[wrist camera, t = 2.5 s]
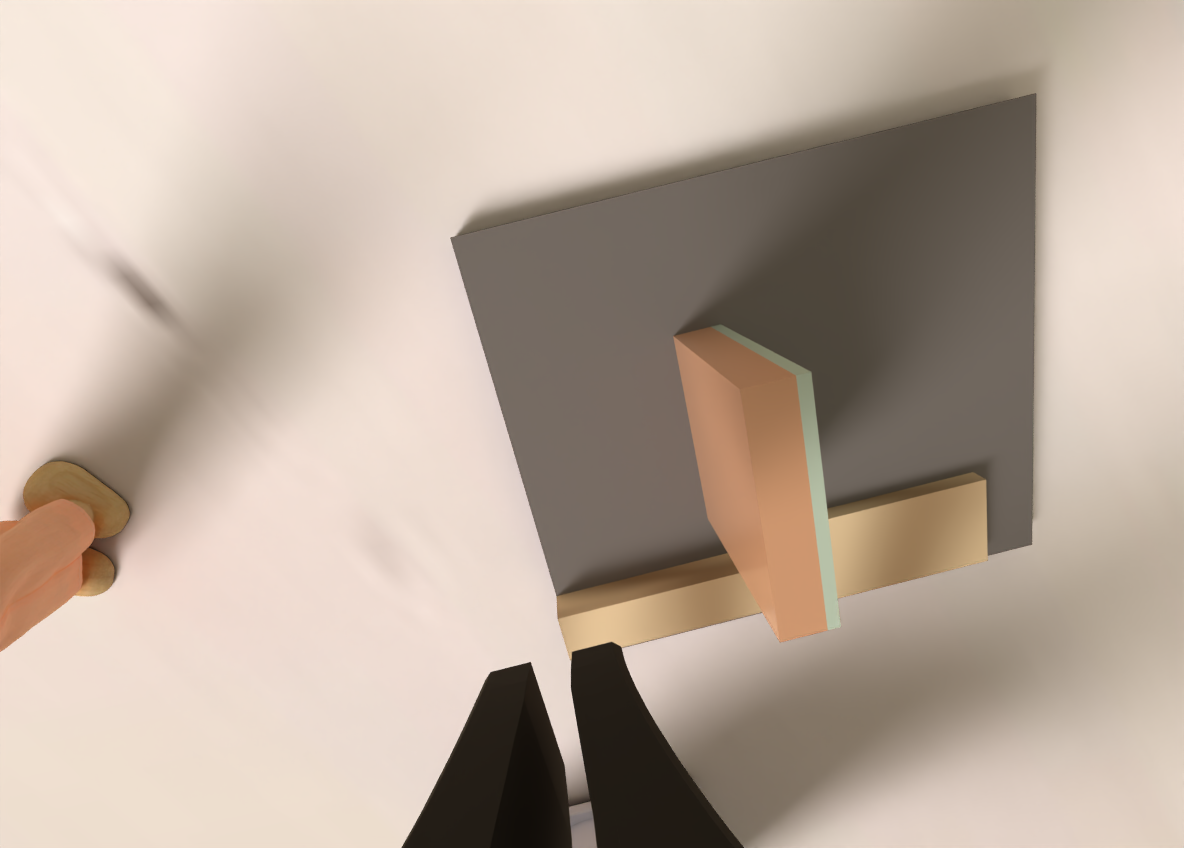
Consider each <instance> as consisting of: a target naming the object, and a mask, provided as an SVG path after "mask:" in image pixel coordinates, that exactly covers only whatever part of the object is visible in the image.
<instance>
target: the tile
mask: <svg viewBox="0 0 1184 848" xmlns="http://www.w3.org/2000/svg"><path fill="white" fill-rule="evenodd" d="M673 338H674V343H675V348H676V354H677V359H678V364H679V369H680V375H681V380H682V385H683V390H684V396H685V401H686V406H687V412H688V417H689V422H690V427H691V433H692V438H693V443H694V448H695V454H696V459H697V464H698V469H699V475H700V480H701V485H702V490H703V496H704V501H705V506H706V512H707V517H708V520H709V522H710V523H711V525H712V527H713V528H714V530H715V532H716V534H717V535H718V537H719V539H720V540H721V542H722V544H723V546H724V547H725V549H726V551H727V552H728V554H729V556H730V558H731V559H732V561H733V563H734V564H735V566H736V568H737V570H738V571H739V573H740V575H741V576H742V578H743V580H744V582H745V583H746V585H747V587H748V588H749V590H750V592H751V594H752V595H753V597H754V599H755V600H756V602H757V604H758V606H759V607H760V609H761V611H762V612H763V614H764V616H765V618H766V619H767V621H768V623H769V624H770V626H771V628H772V630H773V631H774V633H775V635H776V636H777V638H778V640H779V642H784V641H788V640H792V639H796V638H800V637H804V636H808V635H812V634H816V633H819V632H823V631H827V630H831V629H835V628H839V627H841V624H840V615H839V607H838V598H837V590H836V581H835V572H834V564H833V555H832V546H831V538H830V529H829V521H828V512H827V503H826V495H825V486H824V477H823V469H822V460H821V452H820V443H819V434H818V426H817V417H816V408H815V400H814V391H813V383H812V374H811V371H809V370H807V369H805V368H803V367H801V366H799V365H797V364H795V363H794V362H792V361H790V360H788V359H786V358H784V357H782V356H780V355H778V354H776V353H774V352H773V351H771V350H769V349H767V348H765V347H763V346H761V345H759V344H757V343H755V342H753V341H752V340H750V339H748V338H746V337H744V336H742V335H740V334H738V333H736V332H734V331H733V330H731V329H729V328H727V327H725V326H723V325H721V324H720V325H716V326H712V327H708V328H704V329H700V330H696V331H692V332H688V333H684V334H680V335H676V336H673Z"/></svg>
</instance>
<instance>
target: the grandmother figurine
mask: <svg viewBox="0 0 1184 848" xmlns="http://www.w3.org/2000/svg"><path fill="white" fill-rule="evenodd" d="M23 497H24V502H25V505H26V507H27V509H28V510H29V511H30V513H29V514H27V515H26V516H25V517H23V518H22V519H21V520H20V521H17V520H16V521H2V522H0V652H1V651H2V650H4V649H5V648H7V647H8V646H9V645H11V644H12V643H13V642H14V641H16V640H17V639H19V638H20V637H21V636H22V635H24V634H25V633H26V632H27V631H28V630H30V629H31V628H32V627H33V626H35V625H36V624H38V623H39V622H40V621H42V620H43V619H45V618H46V617H48V616H49V615H50V614H52V613H53V612H54V611H56V610H57V609H58V608H60V607H61V606H62V605H64V604H65V603H66V602H67V601H68V600H70V599H71V598H72V597H73V596H74V595H75V596H95V595H98V594H101V593H103V592H105V591H107V590H108V589H109V588H110V586H111V585H112V583H113V579H114V566H113V564H112V562H111V561H110V560H109V559H108V557H107V556H105V555H104V554H102V553H100V552H98V551H96V550H93V549H91V548H88V547H89V546H90V545H91V543H92V542H93V539H94V538H107V537H111V536H114V535H116V534H117V533H119V532H120V531H121V530H122V529H123V528H124V526H125V525H126V523H127V521H128V519H129V515H130V512H129V508H128V506H127V504H126V502H125V501H124V500H123V499H122V498H121V497H120V496H119V495H117V494H116V493H115V492H114V491H112V490H111V489H110V488H108V487H107V486H106V485H104V484H103V483H101V482H100V481H99V480H98V479H96V478H95V477H94V476H93V475H91V474H90V473H88V472H87V471H86V470H84V469H83V468H81V467H79V466H77V465H74V464H72V463H67V462H63V461H56V462H50V463H47V464H45V465H43V466H41V467H40V468H39V469H37V470H36V471H35V472H34V473H33V474H32V476H31V477H30V478H29V480H28V481H27V482H26V485H25V487H24V492H23Z"/></svg>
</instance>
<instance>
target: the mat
mask: <svg viewBox="0 0 1184 848" xmlns="http://www.w3.org/2000/svg"><path fill="white" fill-rule="evenodd" d="M1035 174H1036V93H1035V94H1031V95H1027V96H1023V97H1019V98H1015V99H1011V100H1007V101H1003V102H999V103H995V104H991V105H987V106H983V107H979V108H974V109H970V110H966V111H962V112H958V113H954V114H950V115H946V116H942V117H938V118H934V119H930V120H926V121H922V122H918V123H914V124H910V125H906V126H901V127H897V128H893V129H889V130H885V131H881V132H877V133H873V134H869V135H865V136H861V137H857V138H853V139H849V140H845V141H841V142H837V143H833V144H828V145H824V146H820V147H816V148H812V149H808V150H804V151H800V152H796V153H792V154H788V155H784V156H780V157H776V158H772V159H768V160H764V161H760V162H755V163H751V164H747V165H743V166H739V167H735V168H731V169H727V170H723V171H719V172H715V173H711V174H707V175H703V176H699V177H695V178H691V179H687V180H682V181H678V182H674V183H670V184H666V185H662V186H658V187H654V188H650V189H646V190H642V191H638V192H634V193H630V194H626V195H622V196H618V197H614V198H609V199H605V200H601V201H597V202H593V203H589V204H585V205H581V206H577V207H573V208H569V209H565V210H561V211H557V212H553V213H549V214H545V215H540V216H536V217H532V218H528V219H524V220H520V221H516V222H512V223H508V224H504V225H500V226H496V227H492V228H488V229H484V230H480V231H476V232H472V233H467V234H463V235H459V236H455V237H451V238H450V239H451V242H452V245H453V249H454V252H455V255H456V259H457V262H458V266H459V269H460V272H461V276H462V279H463V282H464V286H465V289H466V292H467V296H468V299H469V303H470V306H471V309H472V313H473V316H474V319H475V323H476V326H477V330H478V333H479V336H480V340H481V343H482V346H483V350H484V353H485V356H486V360H487V363H488V367H489V370H490V373H491V377H492V380H493V383H494V387H495V390H496V394H497V397H498V400H499V404H500V407H501V410H502V414H503V417H504V420H505V424H506V427H507V431H508V434H509V437H510V441H511V444H512V447H513V451H514V454H515V457H516V461H517V464H518V468H519V471H520V474H521V478H522V481H523V484H524V488H525V491H526V495H527V498H528V501H529V505H530V508H531V511H532V515H533V518H534V521H535V525H536V528H537V532H538V535H539V538H540V542H541V545H542V548H543V552H544V555H545V559H546V562H547V565H548V569H549V572H550V575H551V579H552V582H553V585H554V589H555V592H556V596H559V595H563V594H567V593H571V592H575V591H579V590H583V589H587V588H591V587H595V586H599V585H603V584H607V583H611V582H615V581H619V580H623V579H627V578H631V577H635V576H639V575H643V574H647V573H651V572H655V571H659V570H662V569H666V568H670V567H674V566H678V565H682V564H686V563H690V562H694V561H698V560H702V559H706V558H710V557H714V556H718V555H722V554H726V553H728V552H727V551H726V549H725V547H724V546H723V544H722V542H721V540H720V539H719V537H718V535H717V534H716V532H715V530H714V528H713V527H712V525H711V523H710V522H709V520H708V517H707V512H706V506H705V501H704V496H703V490H702V485H701V480H700V475H699V469H698V464H697V459H696V454H695V448H694V443H693V438H692V433H691V427H690V422H689V417H688V412H687V406H686V401H685V396H684V390H683V385H682V380H681V375H680V369H679V364H678V359H677V354H676V348H675V343H674V338H673V336H676V335H680V334H684V333H688V332H692V331H696V330H700V329H704V328H708V327H712V326H716V325H720V324H721V325H723V326H725V327H727V328H729V329H731V330H733V331H734V332H736V333H738V334H740V335H742V336H744V337H746V338H748V339H750V340H752V341H753V342H755V343H757V344H759V345H761V346H763V347H765V348H767V349H769V350H771V351H773V352H774V353H776V354H778V355H780V356H782V357H784V358H786V359H788V360H790V361H792V362H794V363H795V364H797V365H799V366H801V367H803V368H805V369H807V370H809V371H811V374H812V383H813V391H814V400H815V408H816V417H817V426H818V434H819V443H820V452H821V460H822V469H823V477H824V486H825V495H826V503H827V509H828V508H832V507H836V506H840V505H844V504H848V503H852V502H856V501H860V500H864V499H868V498H872V497H876V496H880V495H884V494H888V493H892V492H896V491H900V490H904V489H908V488H912V487H916V486H919V485H923V484H927V483H931V482H935V481H939V480H943V479H947V478H951V477H955V476H959V475H963V474H967V473H971V472H974V473H976V474H977V475H979V476H981V477H983V478H984V479H986V498H987V552H988V556H989V555H993V554H997V553H1000V552H1004V551H1008V550H1012V549H1016V548H1020V547H1024V546H1028V545H1032V494H1033V387H1034V280H1035ZM761 613H763V612H761ZM757 614H759V613H757ZM753 615H755V614H753ZM749 616H751V615H749ZM745 617H747V616H745ZM741 618H743V617H741ZM737 619H739V618H737ZM733 620H735V619H733ZM729 621H731V620H729ZM725 622H727V621H725ZM721 623H723V622H721ZM717 624H719V623H717ZM713 625H715V624H713ZM709 626H711V625H709ZM705 627H707V626H705ZM701 628H703V627H701ZM697 629H699V628H697ZM693 630H696V629H693ZM689 631H692V630H689ZM685 632H688V631H685ZM681 633H684V632H681ZM677 634H680V633H677ZM673 635H676V634H673ZM669 636H672V635H669ZM666 637H668V636H666ZM662 638H664V637H662ZM658 639H660V638H658ZM654 640H656V639H654ZM650 641H652V640H650ZM646 642H648V641H646ZM642 643H644V642H642ZM638 644H640V643H638ZM634 645H636V644H634ZM630 646H632V645H630ZM626 647H628V646H626ZM622 648H624V647H622Z"/></svg>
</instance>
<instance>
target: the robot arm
mask: <svg viewBox="0 0 1184 848" xmlns="http://www.w3.org/2000/svg"><path fill="white" fill-rule="evenodd" d="M571 691H572V697H573V703H574V709H575V715H576V720H577V726H578V732H579V738H580V743H581V749H582V755H583V761H584V766H585V772H586V778H587V784H588V789H589V795H590V802H586V803H582V804H578V805H574V806H570V807H569V804H568V794H567V785H566V776H565V766H564V762H563V759H562V756H561V753H560V750H559V747H558V744H557V741H556V738H555V735H554V732H553V729H552V726H551V723H550V720H549V717H548V714H547V710H546V707H545V704H544V701H543V698H542V695H541V692H540V689H539V686H538V683H537V680H536V677H535V674H534V671H533V668H532V665H531V662H529V663H525V664H521V665H517V666H513V667H509V668H505V669H501V670H497V671H494V672H491V673H490V674H489V676H488V677H487V679H486V680H485V682H484V685H483V687H482V689H481V691H480V693H479V696H478V698H477V700H476V702H475V704H474V707H473V709H472V711H471V713H470V715H469V717H468V720H467V722H466V724H465V726H464V728H463V730H462V732H461V734H460V737H459V739H458V741H457V743H456V745H455V747H454V749H453V751H452V753H451V755H450V757H449V759H448V761H447V763H446V765H445V767H444V769H443V771H442V773H441V775H440V777H439V779H438V781H437V783H436V785H435V787H434V789H433V791H432V793H431V795H430V796H429V798H428V800H427V802H426V804H425V806H424V808H423V810H422V812H421V814H420V816H419V818H418V819H417V821H416V823H415V825H414V827H413V828H412V830H411V832H410V834H409V835H408V837H407V839H406V841H405V843H404V844H403V846H402V848H744V847H743V846H742V845H741V844H740V842H739V841H738V840H737V838H736V837H735V836H734V835H733V833H732V832H731V831H730V830H729V828H728V827H727V826H726V824H725V823H724V822H723V820H722V819H721V818H720V817H719V815H718V814H717V813H716V811H715V810H714V809H713V807H712V806H711V804H710V803H709V802H708V800H707V799H706V798H705V796H704V795H703V793H702V792H701V791H700V789H699V788H698V787H697V785H696V784H695V782H694V781H693V780H692V778H691V777H690V775H689V774H688V772H687V771H686V769H685V768H684V767H683V765H682V764H681V762H680V761H679V759H678V758H677V756H676V755H675V753H674V751H673V750H672V748H671V747H670V745H669V744H668V742H667V740H666V739H665V737H664V736H663V734H662V732H661V731H660V729H659V728H658V726H657V725H656V723H655V721H654V720H653V718H652V716H651V714H650V713H649V711H648V709H647V707H646V706H645V704H644V702H643V700H642V698H641V696H640V694H639V692H638V690H637V688H636V686H635V684H634V682H633V680H632V678H631V676H630V673H629V671H628V668H627V666H626V663H625V660H624V656H623V652H622V648H621V646H619V645H617V644H616V643H614V642H608V643H604V644H600V645H597V646H593V647H589V648H585V649H581V650H577V651H573V652H572V660H571Z"/></svg>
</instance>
